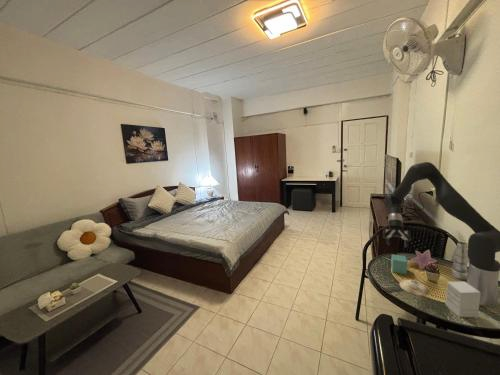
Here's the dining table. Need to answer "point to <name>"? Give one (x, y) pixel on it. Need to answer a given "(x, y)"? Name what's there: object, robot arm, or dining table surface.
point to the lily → (423, 259)
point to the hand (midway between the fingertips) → (397, 245)
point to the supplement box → (462, 299)
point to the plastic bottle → (460, 261)
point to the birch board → (420, 291)
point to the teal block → (399, 264)
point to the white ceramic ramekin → (414, 284)
